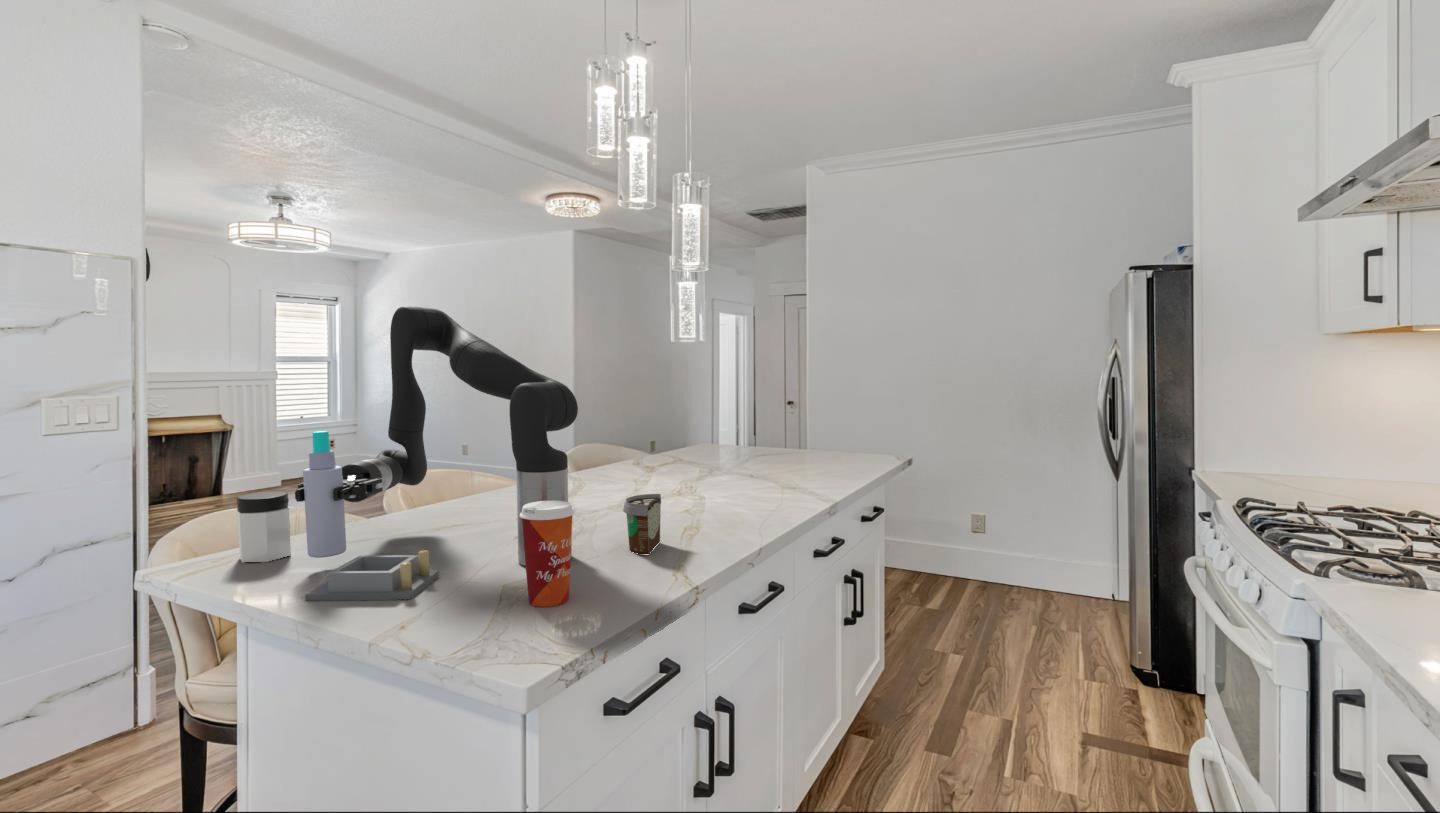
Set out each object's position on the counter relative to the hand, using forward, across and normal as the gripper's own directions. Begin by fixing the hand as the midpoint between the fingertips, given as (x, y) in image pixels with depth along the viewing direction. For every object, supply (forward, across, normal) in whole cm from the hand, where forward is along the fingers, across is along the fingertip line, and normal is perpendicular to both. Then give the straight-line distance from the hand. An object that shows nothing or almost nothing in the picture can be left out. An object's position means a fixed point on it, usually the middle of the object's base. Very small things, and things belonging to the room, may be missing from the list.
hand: (316, 495), depth 121 cm
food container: (-15, +55, +15) cm, 58 cm away
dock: (+8, +14, +14) cm, 21 cm away
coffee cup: (+15, +44, +15) cm, 49 cm away
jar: (-11, -16, +14) cm, 24 cm away
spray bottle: (-2, 0, +11) cm, 11 cm away
